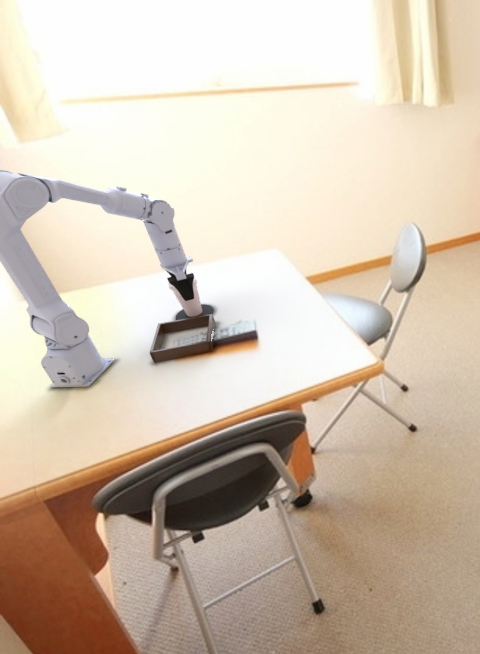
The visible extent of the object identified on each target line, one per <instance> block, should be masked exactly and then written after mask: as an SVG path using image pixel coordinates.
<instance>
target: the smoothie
mask: <svg viewBox="0 0 480 654" xmlns="http://www.w3.org/2000/svg"><path fill="white" fill-rule="evenodd" d="M197 284H198V280H197V278H196V276H194V280H193V291H194V299H192V300H188V301H185V300H184V299H183V298H182V296H181V295H180V293H179V292H178V290H177V289H176V288H175V287H174V286H173V285H171V284H170V283H169V282H168V284H167V285H168V288H169V290H171V291H172V292H173V295H174V296H175V298H176V300H177V301H178V302H179V304H180V306H181V308H182V310H183V309H184V311H185V313H186V314H187V316H190V317H193V316H197V315H199V314H201V313H202V307H201V304H202V303H201V299H200V295H199V289H198V285H197Z"/></svg>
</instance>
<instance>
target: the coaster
mask: <svg viewBox="0 0 480 654" xmlns="http://www.w3.org/2000/svg"><path fill="white" fill-rule="evenodd" d="M201 307H202V313H201V314H199V315H197V316H193V317H198V316H204V315H209V314H212V315H213V314H214V307H213V306H212V305H210V304H205V303H204V304H202V303H201ZM187 318H192V317H190V316H187V314H186V313H185V311H184V309H183V308H182V309H181V310H179V311H178V312H177V313H176V315H175V320H181V319H187Z"/></svg>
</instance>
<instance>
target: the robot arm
mask: <svg viewBox="0 0 480 654" xmlns="http://www.w3.org/2000/svg"><path fill="white" fill-rule="evenodd" d="M61 199H65V200H71V201H75V202H81V203H86V204H91V205H97V206H99V207H101V208H102V210H103V211H104V212H105V213H107V214H110V215H115V216H119V217H124V218H129V219H134V220H139V221H142V222H143V225H144V227H145V230H146V232H147V234H148V236H149V240H150V242H151V244H152V246H153V249H154V251H155V253H156V256H157V259H158V261H159V263H160V265H159V266H160V268H161V269H162V270H163V271H165V272H167V274H168V275H169V276H170V277H167V278H166V280H167V282H168V283H170V284H171V285H173V286H174V287H175V288H176V289H177V290H178V292H179V293H180V295H181V296H182V298H183V299H184V300H185V301H188V300H192V299H194V291H193V280H194V277H195V274H194V273H193V272H191V273H187V267H188V266H189V263H193V262H194V259H193V257H192V256H186V252H185V250H184V247H183V245H182V242H181V239H180V237H179V235H178V232H177V229H176V225H175V222H174V218H175V208H174V207H172V206H171V205H170V204H169V203H168V202H167V201H166V200H163V199H159V198H154V197H151V196H149V194H147V193H143V192H140V194H139V193H136V192H132V191H128V190H127V188H126V187H122V186H119V185H117V186H116V187H108V188H106V189H104V190H99V189H95V188H91V187H87V186H83V185H81V184H76V183H73V182H69V181H65V180H62V179H58V178H53V177H49V176H44V175H37V174H31V173H23V172H17V173H14V172H12V171H8V170H5V169H0V263H1V265H2V267H3V268H4V269H5V271H6V272H7V274H8V276H9V277H10V279H11V280H12V282H13V283H14V285H15V286H16V288H17V289H18V291H19V292H20V294H21V295H22V297H23V299H24V300H25V302H26V304H27V305H28V306H27V308H26V313H27V314H28V316H29V326H30V328H31V330H32V331H33V332H34V333H35V334H38V335H39V336H43V337H44V344H45V346H46V352H45V355H44V356H43V357H42V358H41V361H40V364H41V367H42V368H43V371H44V372H45V373H46V375H47V376H48V377H49V379H50V381H51V382H52V384H50V387H51V388H84V387H85V388H86V387H89V386H91V385H92V384H93V383H94V382H95V381H96V380H97V379H98V378H99V377H100V376H101V375H102V374H103V372H105V371H106V370H107V369H108V368H109V367H110V365H111V364H113V363H114V362H115V359H114V358H102V356H101V354H100V352H99V351H98V348H97V347H96V345H95V343H94V342H93V340H92V338H91V337H90V335H89V333H90V327H89V324H88V322H87V321H86V320H85V319H83V318H81V317H79V316H78V315H77V314H76V312H75V310H74V309H73V308H72V307H71V306H70V305H69V304H68V303H66V302H65V300H63V299H62V297H61V296H60V294H59V292H58V290H57V289H56V287H55V285H54V284H53V282H52V279H50V277H49V275H48V273H47V271H46V270H45V268H44V267H43V265H42V264H41V262H40V260H39V258H38V256H37V255H36V254H35V251H34V250H33V248H32V247H31V245H30V243H29V242H28V240H27V238H26V237H25V235H24V233H23V231H22V227H23V226H24V225H25V223H26V222H27V220H28V219H30V218H32V217H33V216H34V215H35V214H37V213H38V212H39V211H41V210H42V209H43V208H45V207H46V206H47V204H48V203H51V204H54V203H57V202H58V201H60V200H61Z"/></svg>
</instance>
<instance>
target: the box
mask: <svg viewBox="0 0 480 654" xmlns="http://www.w3.org/2000/svg"><path fill="white" fill-rule="evenodd" d="M216 325H217V323H216V321H215V317H214V315H213V313H212V314H209V315H204V316H198V317H192V318H187V319H181V320H176V319H175V320H171V321H165V322H160V323H159V322H158V323H157V327H156V329H155V333H154V337H153V340H152V343H151V347H150V350H149V355H150V357H151V359H152V361H153V363H154V364H157V363H161V362H166V361H171V360H176V359H177V360H178V359H182V358H186V357H192V356H197V355H202V354H207V353H211V352H213V350H214V343H215V342H214V341H215V338H214V339H212V342H211V334H212V331H214V332H215V333H216ZM205 327H207V331H206V336H205V337H206V338H205V340H202V341H198V342H193V343H186V344H183V345H177V346H171V347H167V348H162V345H163V342H164V338H165V335H167V334H173V333H178V332H182V331H188V330H192V329H193V330H194V329H200V328H205ZM213 329H214V330H213Z"/></svg>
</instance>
